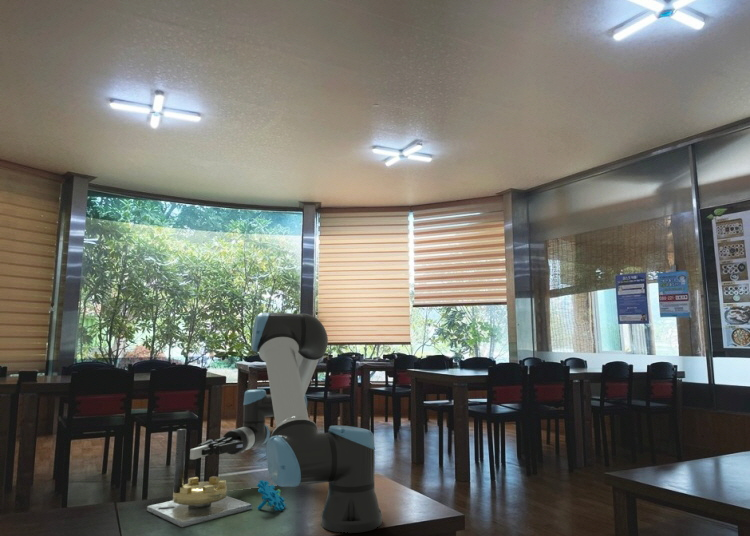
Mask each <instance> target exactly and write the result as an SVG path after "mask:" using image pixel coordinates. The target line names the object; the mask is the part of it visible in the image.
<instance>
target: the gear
mask: <svg viewBox="0 0 750 536" xmlns="http://www.w3.org/2000/svg"><path fill="white" fill-rule="evenodd" d="M256 486H257V487H258V489H257V491H258V493H259V494H261V498H262V500H263V501H262V502H261V503H260V504H258V506H257V507H256V508H257V509H258V511H261V509H263V507H264V506H265V505H267V506H269V507H270V508H271V507H272V506H273V505H274V507H273V510H275V511H277V512H278V511H280V512H282V511H284V510H285V507H286V505H287V504H286V503H285V498H284V497H282V496H281V492H282V491H281V489H279V488H277V490H275V489H276V486H275V485H274V484H271V485H270V482H269V481H268V480H265V481H264V480H263V479H260V480H259V482H258V484H256Z"/></svg>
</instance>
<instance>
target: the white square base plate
mask: <svg viewBox="0 0 750 536" xmlns="http://www.w3.org/2000/svg"><path fill="white" fill-rule="evenodd" d="M251 509H253V504H251V503H249V502H246V501H242V500H241V499H237V498H234V497H231V496H228V495H227V496H226V497H225V498H224V499H222V500H220V501H217V502H213V503H208V504H200V505H182V504H177V503H175V502H173V500H169V501H165V502H160V503H156V504H155V503H154V504H151V505H150V504H149V505H147V506H146V511H147V512H149V513H151V514H153V515H155V516H156V517H159V518H161V519H163V520H165V521H168V522H170V523H172V524H174V525H176V526H177V527H181V528H184V527H189V526H192V525H196V524H201V523H204V522H207V521H211V520H214V519H215V520H216V519H219V518H222V517H227V516H230V515H233V514H238V513H242V512H245V511H248V510H251Z"/></svg>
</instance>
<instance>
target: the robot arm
mask: <svg viewBox="0 0 750 536" xmlns="http://www.w3.org/2000/svg"><path fill="white" fill-rule="evenodd" d="M326 330H327V329H326V328H325V326H324V325H323V323H322V322H321V321H320V319H318V318H317V317H315V316H314V315H312V314H308V313H292V312H291V313H289V312H288V313H287V312H271V311H270V312H261V313H258V314H257V315H256V316H255V320H254V322H253V328H252V334H251V335H252V336H251V346H250V347H251V350H252V351H253V352H255V353H258V355H259V356H258V357H259V358H260V360H261V361H263V362H264V363H265V366H266V371H267V372H266V373H267V378H268V385H269V392H270V394H267V391H266V390H265V389H247V390H245V392H244V396H243V416H242V417H243V420H242V427H239V428H235V429H232V430H228V431H226V432H225V433H224V434H223V436H222V437H220V438H217V439H214V440H213V439H211V438H209V439H207V440H205V441H204V442H201V443H200V444H197V447H194V448H190V450H189V452H190V453H189V460H197V459H200V458H203V457H204V458H205V457H206V456H209V455H210V456H212V455H216V456H218V455H222V454H229V455H233V456H234V455H236V454H240V453H241V454H244V452H245V451H248V450H251V449H254V448H259V447H261V446H262V445H265V444H266V447H265V448H266V449H265V455H266V466H267V471H268V473H269V476H270V479H271V481H272V482H273V483H274V484H275V485H276V486H278V487H281V488H284V487H292V488H296V487H298V486H299V487H300V486H307V485H315V484H323V483H328V491H327V495H326V500H325V503H324V507H323V510H322V512H321V515H320V516H321V517H320V518H321V519H320V520H321V521H320V523H321V527H322V528H324V529H325V530H328V531H330V532H334V533H340V532H342V534H356V533H357V534H358V533H359V534H360V533H365V532H370V531H373V530H376V529H377V527H378V528H380V526H381V525H382V522H383V521H382V520H383V518H382V517H383V516H382V510H381V509H380V505H379V501H378V498H377V494H376V491H375V486H376V485H375V464H376V463H375V452H376V451H375V450H376V447H375V446H376V445H375V438H374V437H375V436H374V433H373V432H372V431H371V430H369V429H366V428H362V427H357V426H351V425H350V426H348V425H338V424H337V425H330V426H329V427H328V429H327V431H328V432H319V431H318V426H317V424H316V422H315V421H313V420H311V419H310V418H309V414H308V410H307V408H308V399H307V395H306V393H307V390H308V387H310V386H309V385H310V383H311V380H312V378H313V376H314V373H315V370H316V369H317V366H318V362H319V361H320V359H322V358H324V356H325V354H326V352H327V349H328V343H329V342H328V341H329V340H328V339H329V338H328V334H327V331H326ZM269 417H270V418H271V417H272V418H273V417H274V423H275V428H274V429H273V431H272V433H271V430H270V428H269V426H268V425H267V424H266V418H269ZM270 436H271V437H270ZM343 532H345V533H343ZM347 532H348V533H347Z"/></svg>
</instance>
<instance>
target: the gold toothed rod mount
mask: <svg viewBox="0 0 750 536" xmlns="http://www.w3.org/2000/svg"><path fill="white" fill-rule="evenodd" d="M175 442H176V443H175V458H174V459H175V460H174V461H175V462H174V474H173V475H174V476H173V477H174V478H173V490H172V492H173V493H172V501H173V502H175V503H177V504H182V505H200V504H208V503H213V502H217V501H220V500H222V499H224V498H225V497H226V496H228V485H227V479H221V477H220V476H215V475H214V476H210V477H209V478H208V479H209V480H208V481H200V480H199V477H198V476H195V477H194V476H193V477H188V480H187V483H185V481H184V480H185V463H186V447H187V446H186V445H187V443H186V442H187V428H179V429H176V441H175ZM184 483H185V484H184Z"/></svg>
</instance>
